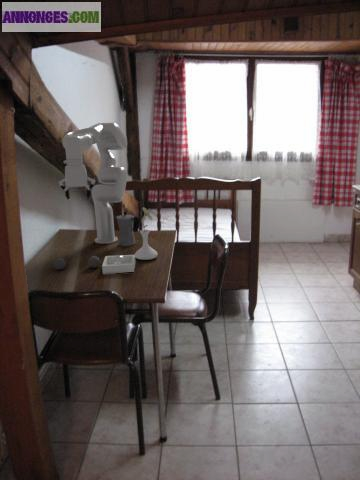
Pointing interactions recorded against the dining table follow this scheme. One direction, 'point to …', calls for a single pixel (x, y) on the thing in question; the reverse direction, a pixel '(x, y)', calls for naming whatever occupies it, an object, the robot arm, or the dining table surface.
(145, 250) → the flower in vase
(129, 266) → the tray
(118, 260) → the steel ball
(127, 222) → the coffeepot
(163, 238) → the dining table surface
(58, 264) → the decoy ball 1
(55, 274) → the dining table surface
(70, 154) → the robot arm
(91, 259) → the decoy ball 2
